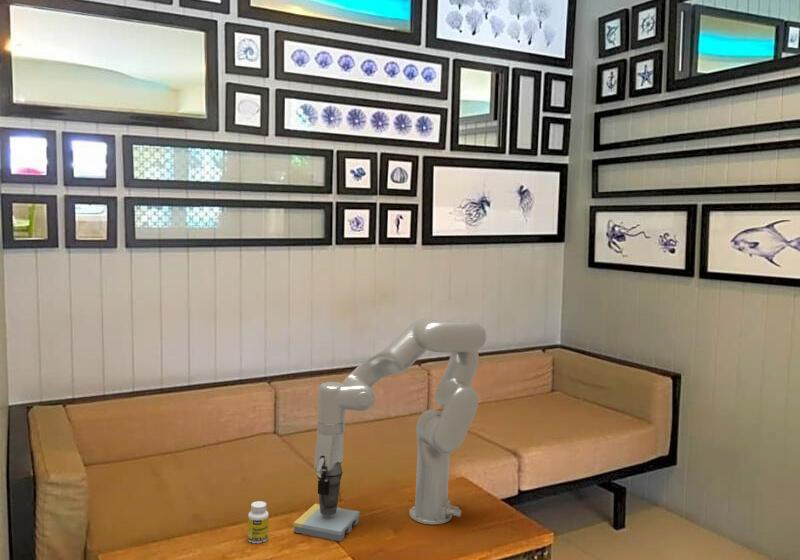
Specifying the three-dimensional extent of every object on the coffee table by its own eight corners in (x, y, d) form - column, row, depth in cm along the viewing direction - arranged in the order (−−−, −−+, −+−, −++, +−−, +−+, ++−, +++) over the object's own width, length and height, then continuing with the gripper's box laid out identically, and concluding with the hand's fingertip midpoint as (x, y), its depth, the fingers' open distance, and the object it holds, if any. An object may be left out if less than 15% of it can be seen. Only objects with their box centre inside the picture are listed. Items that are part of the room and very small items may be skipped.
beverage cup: (336, 519, 183) (339, 448, 182) (311, 515, 185) (313, 445, 183) (344, 508, 191) (346, 440, 189) (320, 505, 192) (322, 437, 190)
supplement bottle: (250, 545, 175) (251, 509, 175) (245, 536, 180) (245, 501, 179) (270, 542, 178) (271, 506, 177) (264, 533, 183) (265, 498, 182)
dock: (359, 521, 192) (359, 511, 192) (340, 542, 179) (340, 531, 179) (315, 513, 197) (315, 503, 197) (293, 533, 183) (293, 522, 183)
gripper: (331, 417, 195) (329, 476, 197) (304, 434, 179) (303, 498, 180) (355, 420, 193) (353, 480, 194) (330, 437, 176) (328, 503, 178)
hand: (329, 488), depth 187 cm, fingers closed on beverage cup, 6 cm apart
